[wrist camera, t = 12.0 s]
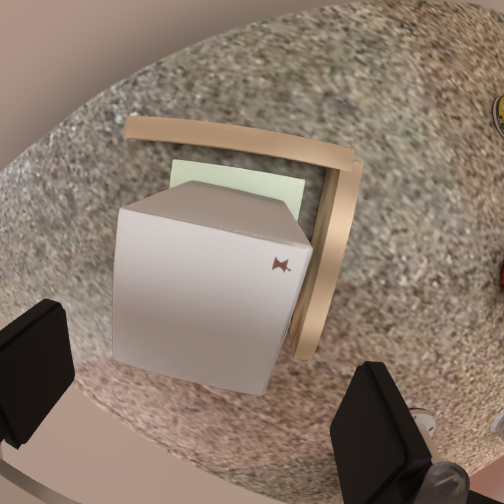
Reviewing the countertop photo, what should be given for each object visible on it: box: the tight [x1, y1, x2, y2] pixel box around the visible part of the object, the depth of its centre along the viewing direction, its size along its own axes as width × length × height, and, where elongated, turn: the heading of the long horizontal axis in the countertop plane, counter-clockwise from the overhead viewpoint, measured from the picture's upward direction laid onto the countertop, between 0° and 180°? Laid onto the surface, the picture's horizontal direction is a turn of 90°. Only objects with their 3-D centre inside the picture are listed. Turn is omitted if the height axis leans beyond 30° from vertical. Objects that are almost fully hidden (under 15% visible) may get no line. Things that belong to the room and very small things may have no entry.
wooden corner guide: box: [123, 116, 364, 361], centre depth 22 cm, size 16×16×4 cm
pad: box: [169, 159, 305, 221], centre depth 23 cm, size 10×10×1 cm
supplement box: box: [112, 180, 313, 396], centre depth 17 cm, size 7×7×13 cm
